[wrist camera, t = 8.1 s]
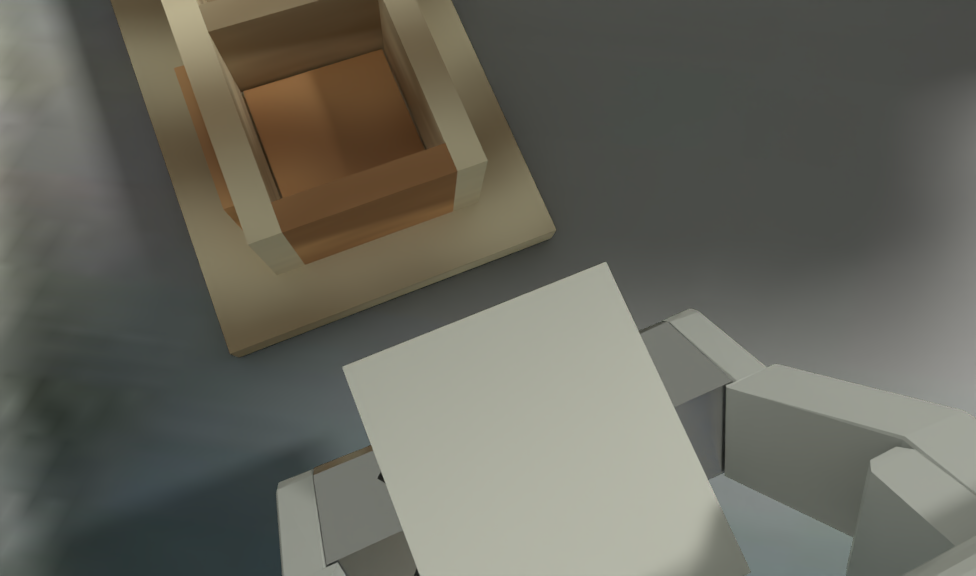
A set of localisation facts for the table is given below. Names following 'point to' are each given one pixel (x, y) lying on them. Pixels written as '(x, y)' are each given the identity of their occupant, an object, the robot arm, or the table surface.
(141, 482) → the table surface
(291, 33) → the rack
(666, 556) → the off-white tall block
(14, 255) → the table surface
